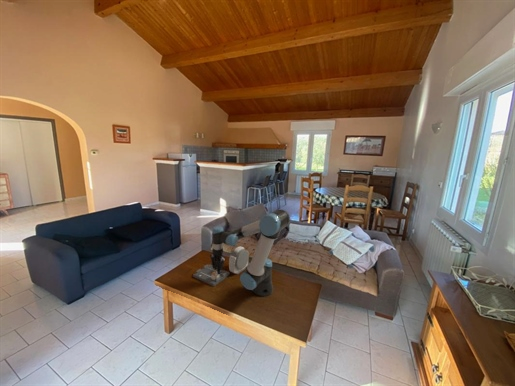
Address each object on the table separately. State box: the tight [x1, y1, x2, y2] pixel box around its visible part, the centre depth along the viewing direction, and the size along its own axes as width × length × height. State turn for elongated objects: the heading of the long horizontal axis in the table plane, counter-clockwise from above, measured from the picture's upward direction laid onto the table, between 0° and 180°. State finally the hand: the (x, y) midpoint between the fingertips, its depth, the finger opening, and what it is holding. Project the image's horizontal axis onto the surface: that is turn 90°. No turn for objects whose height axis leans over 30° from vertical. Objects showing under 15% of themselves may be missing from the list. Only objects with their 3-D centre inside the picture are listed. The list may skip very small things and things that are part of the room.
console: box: [192, 264, 231, 287], centre depth 169 cm, size 21×18×4 cm
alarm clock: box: [228, 246, 250, 275], centre depth 176 cm, size 18×8×20 cm, turn 144°
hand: (217, 277), depth 160 cm, fingers closed
